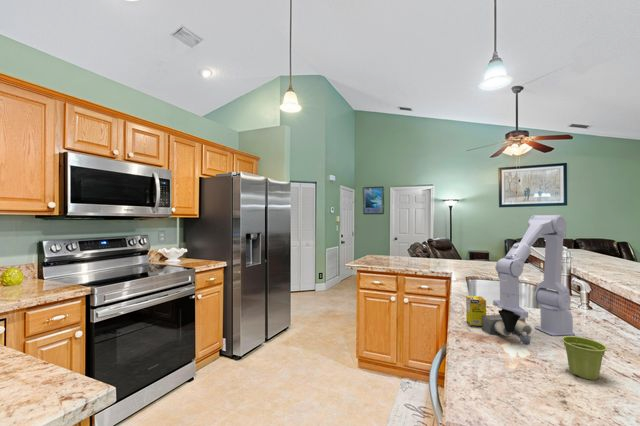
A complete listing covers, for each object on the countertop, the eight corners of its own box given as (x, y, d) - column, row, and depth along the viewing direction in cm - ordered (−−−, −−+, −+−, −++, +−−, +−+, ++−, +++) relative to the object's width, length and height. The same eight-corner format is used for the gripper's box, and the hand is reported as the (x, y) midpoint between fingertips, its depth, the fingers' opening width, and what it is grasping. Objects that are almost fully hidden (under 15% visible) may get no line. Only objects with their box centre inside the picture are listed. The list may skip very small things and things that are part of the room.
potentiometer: (523, 340, 106) (522, 330, 106) (531, 343, 104) (531, 332, 104) (516, 342, 105) (516, 331, 105) (525, 345, 102) (525, 334, 102)
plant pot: (595, 368, 86) (595, 338, 86) (615, 386, 77) (615, 352, 78) (556, 363, 89) (556, 334, 90) (571, 380, 81) (570, 347, 81)
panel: (515, 328, 118) (515, 313, 118) (525, 332, 113) (525, 318, 113) (481, 329, 117) (481, 315, 117) (490, 334, 112) (490, 319, 112)
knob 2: (510, 324, 119) (510, 314, 119) (532, 335, 108) (532, 323, 108) (501, 325, 118) (501, 314, 118) (521, 335, 108) (521, 323, 108)
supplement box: (486, 328, 118) (486, 300, 118) (470, 327, 119) (469, 299, 119) (481, 322, 124) (481, 296, 124) (466, 322, 125) (465, 295, 125)
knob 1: (492, 325, 118) (492, 314, 118) (512, 336, 108) (512, 324, 108) (483, 326, 118) (483, 315, 118) (502, 336, 107) (502, 324, 107)
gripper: (485, 288, 113) (485, 325, 113) (514, 299, 99) (514, 340, 99) (502, 287, 114) (503, 324, 114) (533, 298, 100) (534, 339, 99)
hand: (509, 331), depth 106 cm, fingers closed
